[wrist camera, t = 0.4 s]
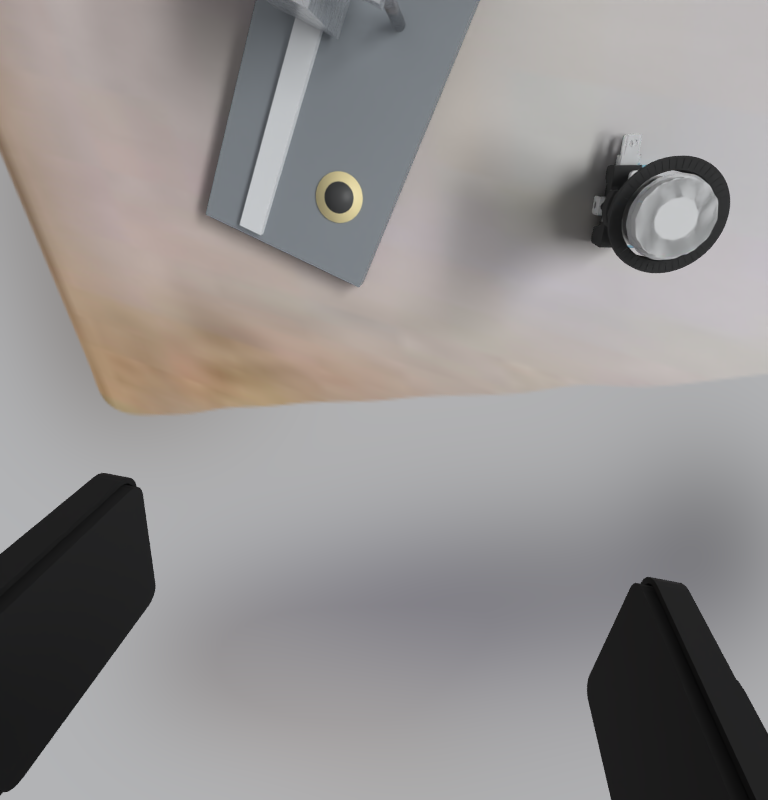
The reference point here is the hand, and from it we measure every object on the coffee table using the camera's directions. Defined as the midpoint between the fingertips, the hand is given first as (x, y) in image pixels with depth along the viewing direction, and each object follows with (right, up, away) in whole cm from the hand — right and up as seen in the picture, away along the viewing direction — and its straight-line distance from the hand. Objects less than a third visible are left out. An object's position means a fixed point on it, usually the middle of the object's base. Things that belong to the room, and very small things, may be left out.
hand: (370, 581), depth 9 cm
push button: (+15, +17, +22) cm, 32 cm away
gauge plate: (-1, +26, +20) cm, 33 cm away
